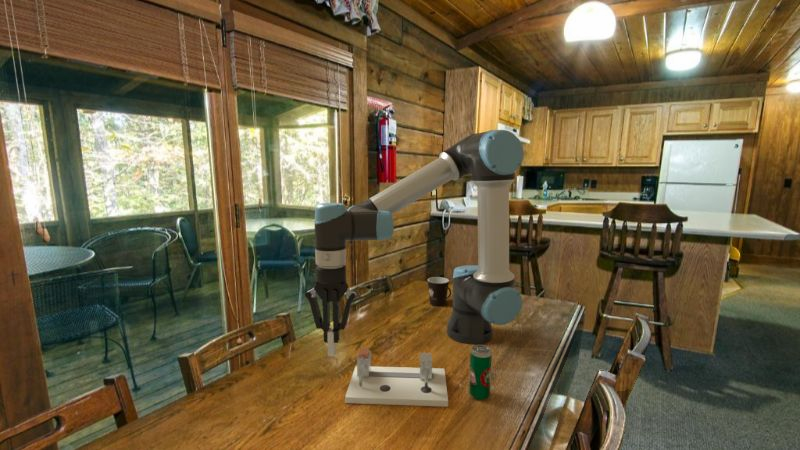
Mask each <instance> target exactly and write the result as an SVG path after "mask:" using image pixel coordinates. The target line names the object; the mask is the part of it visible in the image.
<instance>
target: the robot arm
mask: <svg viewBox="0 0 800 450" xmlns="http://www.w3.org/2000/svg"><path fill="white" fill-rule="evenodd" d="M524 153H525V152H524V147H523V145H522V142H521V139H519V137H517V136H516V134H515V133H513V132H511V131H509V130H506V129H492V130H487V131H482V132H478V133H473V134H469V135H467V136H466V137H463V138H462V139H461V140H459V141H457V142H456V143H455V144H453V145H451V146H450V147H448V148H446V149H445V150H444V151H442V152H440V153H439V156H438V158H436V159H434V160H433V161H431V162H430V163H428V164H426V165H424V166H422V167H421V168H419V169H418V170H416V171H414V172H412V173H411V174H409V175H407V176H405V177H404V178H402V179H401V180H399V181H397V182H395V183H394V184H392V185H390V186H388V187H387V188H385V189H384V190H381V191H380V192H378V193H377V194H374V195H373V196H372V197H369V198H368V199H366V200H364V201H363V202H361V203H359V204H358V203H357V204H354V205H352V206H350V207H348V209H347V207H346V205H345V204H344V203H342V202H321V203H318V204H317V205H316V207H315V209H314V245H315V246H314V248H315V249H314V252H315V265H316V266H315V284H314V285H313V288H312V289H309V290H308V291H306V292H305V297H306V299H307V300H308V302H309V305H310V309H311V313H312V317H313V320H314V324H315V328H316V329H317V330H322V331H323V343H327V357H334V356H335V354H336V352H337V344H338V343H339V341H340V339H341V337H340V334H341V333H340V331H341V330H345V329H346V327H347V325H348V320H349V316H350V311H351V309H352V305H353V301H354V299H355V298H356V296H357V294H358V293H357V291H355V290H351V289H350V288H349V284H348V283H347V266H346V265H345V264H347V242H354V241H355V242H356V241H358V242H359V241H361V242H362V241H378V242H379V241H383V240H390V239H391V238H392V237H393V235H394V230H395V228H394V227H395V222H394V217H393V215H395V214H396V213H398V212H400V211H401V210H403V209H404V208H406V207H408V206H410V205H412V204H413V203H414V202H416V201H418V200H420V199H422V198H423V197H425V196H426V195H429V194H430V193H431V192H433V191H435V190H436V189H438V188H439V187H441V186H443V185H445V184H447V183H448V182H450V181H451V180H452V181H454V182H456V181H458V180H460V179H461V178H464V177H466V176H469V175H470V176H471V183H472V184H473V185H475V186H476V188H477V189H476V191H477V203H476V204H477V250H478V251H477V255H478V258H477V261H478V263H477V265H474V264H473V265H472V264H471V265H470V264H469V265H468V264H467V265H461V266H457V267H455V268H454V269H453V276H452V309H451V310H452V311H451V313H450V316H449V319H448V321H447V324H446V334H447V336H448V337H449V338H450V339H452V340H453V341H456V342H458V343H462V344H463V343H464V344H470V345H480V344H484V343H487V342H490V341H491V340H492V339H493V337H494V328H493V325H496V326H504V325H505V326H506V325H508V324H509V323H511V322H513V321H514V320H515V318H516V317H518V316H519V314H520V313H521V310H522V308H523V296H522V294H521V293H520V291H519V290H518V289H516V288H515V274H514V273H513V272H512V271H511V270H510V186H511V184H513V183H514V182H515V180H516V171H517V170H519V168H520V166H521V165H522V163H523V161H524ZM344 295H346V299H347V300H346V302H345V305H344V306H345V307H344V310H343V315H342V318H341V307H340V306H341V304H340V303H341V300H342V298H343V297H344ZM317 296H318V297H319V298H320V299H321V304H322V305H321V306H322V313H321V309H320V305H319V302H318V299H317ZM331 302H332V303H331ZM330 303H331V304H332V305H331V304H330ZM331 306H332V327H331Z"/></svg>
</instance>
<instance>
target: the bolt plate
mask: <svg viewBox="0 0 800 450" xmlns="http://www.w3.org/2000/svg"><path fill="white" fill-rule="evenodd" d="M345 393H346V394H345V397H344V402H345V404H357V405H358V404H363V405H387V406H388V405H389V406H391V405H393V406H414V407H415V406H419V407H420V406H421V407H445V408H446V407H449V398H448V397H449V396H448V390H447V380H446V371H445V368H440V367H438V368H435V367H432V380H428V388H427V389H426V388H425V379H420V367H410V366H408V367H406V366H405V367H401V366H400V367H399V366H398V367H397V366H377V365H376V366H372V365H371V371H370V375H369V377H362V386H359V377H357V365H355V366H354V369H353V372H352V375H351V379H350V381H349V384H348V387H347V391H346V392H345Z"/></svg>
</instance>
